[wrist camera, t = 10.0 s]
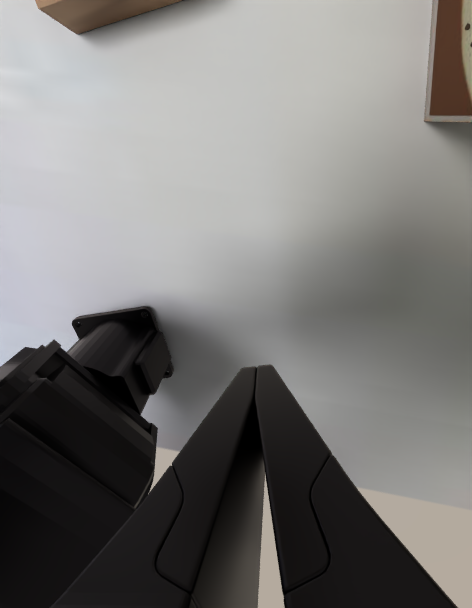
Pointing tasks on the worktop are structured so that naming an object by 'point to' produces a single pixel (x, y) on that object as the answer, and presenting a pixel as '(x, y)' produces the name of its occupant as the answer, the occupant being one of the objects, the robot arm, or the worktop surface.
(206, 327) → the worktop surface
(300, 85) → the worktop surface
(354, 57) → the worktop surface
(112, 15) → the bar
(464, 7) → the food container
